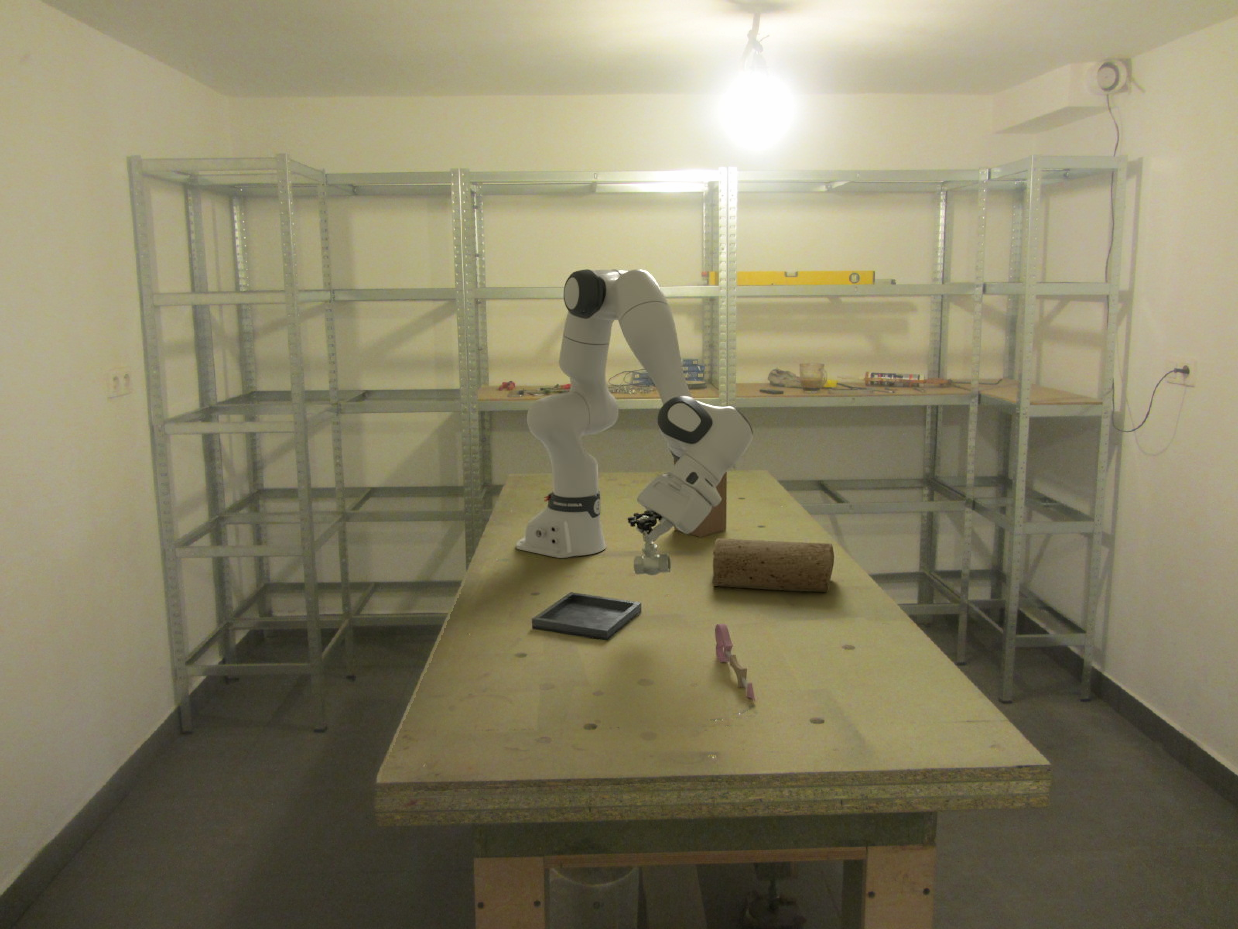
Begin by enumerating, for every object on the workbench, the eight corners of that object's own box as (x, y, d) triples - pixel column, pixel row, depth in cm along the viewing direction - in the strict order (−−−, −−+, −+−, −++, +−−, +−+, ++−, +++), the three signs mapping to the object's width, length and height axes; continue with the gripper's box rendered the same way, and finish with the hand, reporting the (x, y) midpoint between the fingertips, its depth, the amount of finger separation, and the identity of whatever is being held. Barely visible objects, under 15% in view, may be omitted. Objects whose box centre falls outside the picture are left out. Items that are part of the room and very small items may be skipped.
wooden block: (700, 538, 232) (700, 461, 228) (673, 530, 239) (672, 456, 235) (727, 530, 239) (727, 456, 234) (699, 523, 246) (699, 450, 242)
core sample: (714, 571, 207) (714, 529, 205) (833, 578, 201) (834, 534, 199) (706, 592, 193) (706, 547, 191) (833, 600, 187) (835, 553, 185)
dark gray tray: (532, 628, 174) (531, 618, 174) (570, 601, 189) (570, 592, 188) (607, 641, 168) (606, 631, 167) (641, 611, 182) (641, 602, 182)
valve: (668, 580, 171) (658, 521, 168) (634, 582, 173) (624, 524, 169) (672, 566, 177) (664, 508, 174) (640, 568, 179) (630, 511, 176)
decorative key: (750, 721, 143) (713, 652, 162) (757, 720, 143) (720, 651, 162) (753, 685, 141) (715, 619, 159) (760, 684, 141) (722, 618, 159)
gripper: (658, 459, 182) (613, 511, 181) (704, 481, 164) (655, 540, 162) (678, 479, 185) (634, 530, 183) (726, 503, 166) (677, 560, 165)
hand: (644, 535), depth 173 cm, fingers closed on valve, 3 cm apart
